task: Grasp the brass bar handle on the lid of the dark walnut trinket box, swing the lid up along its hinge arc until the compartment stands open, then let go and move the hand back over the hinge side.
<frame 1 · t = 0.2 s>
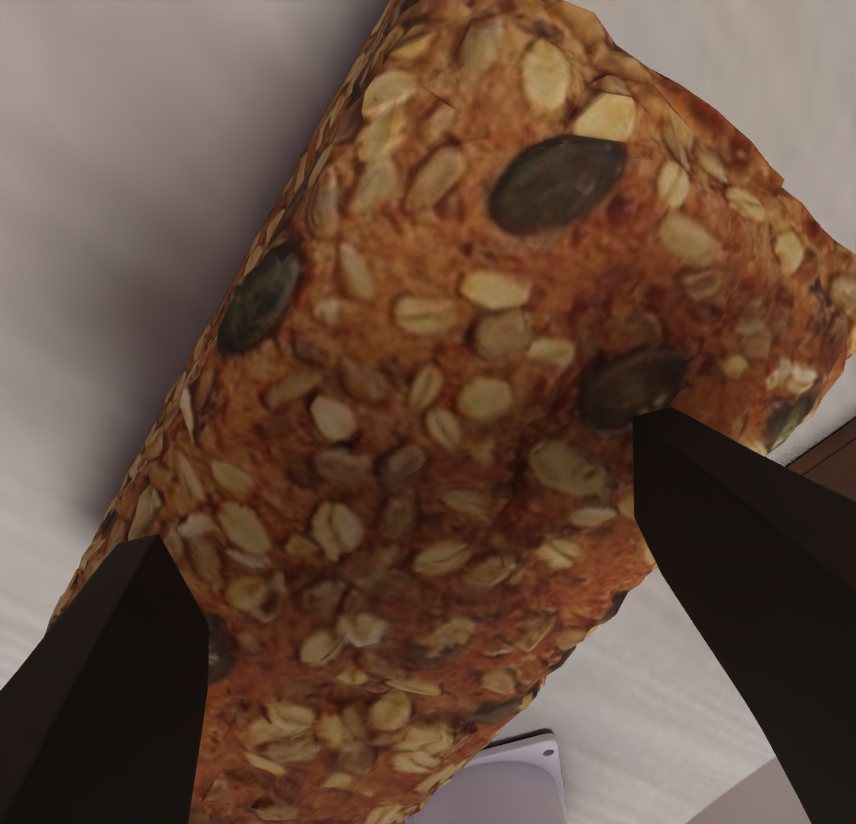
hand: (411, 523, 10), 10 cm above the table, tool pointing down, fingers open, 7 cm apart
bread: (371, 363, 20), on the table
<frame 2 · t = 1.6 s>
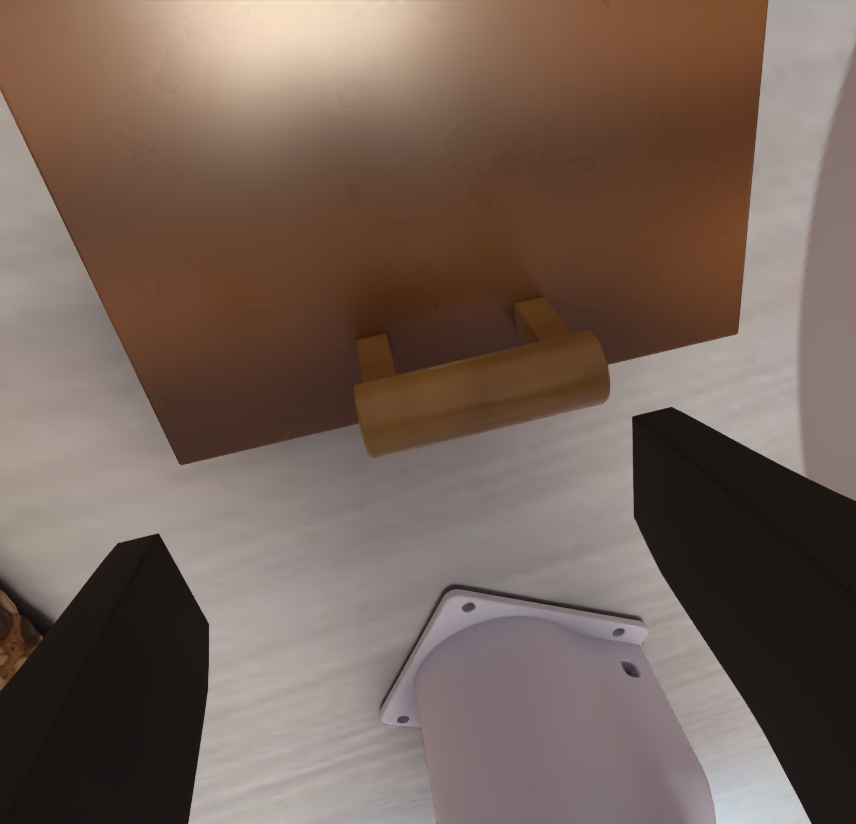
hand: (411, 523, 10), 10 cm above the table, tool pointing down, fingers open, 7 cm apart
box lid: (435, 174, 12), point 6 cm above the table, hinge at 0.0°
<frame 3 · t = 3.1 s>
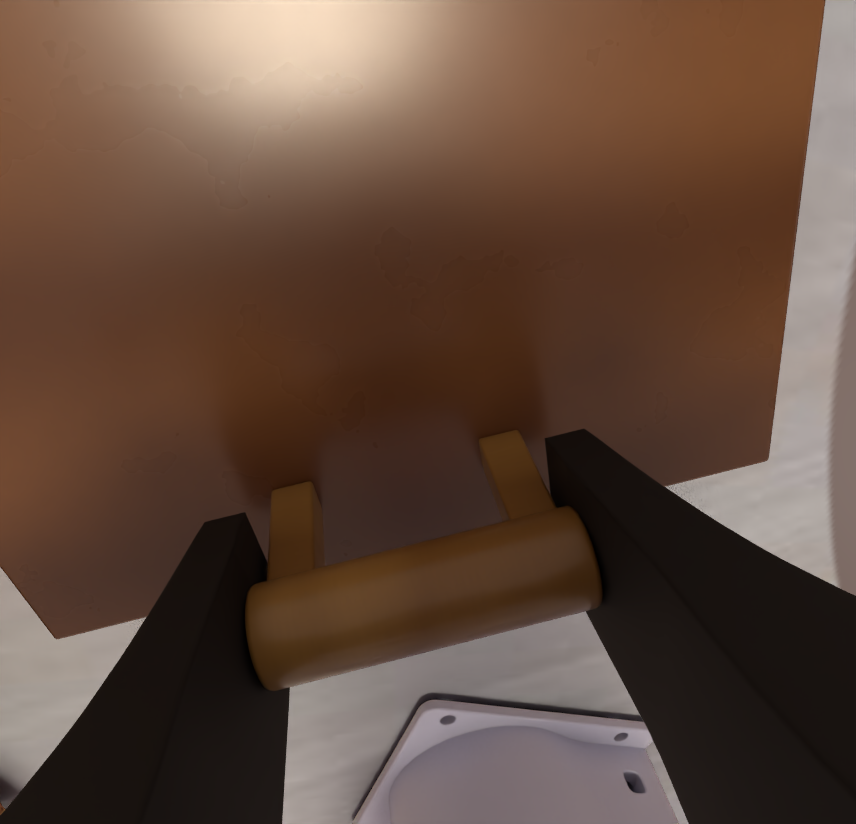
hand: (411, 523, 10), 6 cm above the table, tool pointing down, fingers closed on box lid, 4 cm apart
box lid: (351, 309, 8), point 6 cm above the table, hinge at 0.0°, touching gripper
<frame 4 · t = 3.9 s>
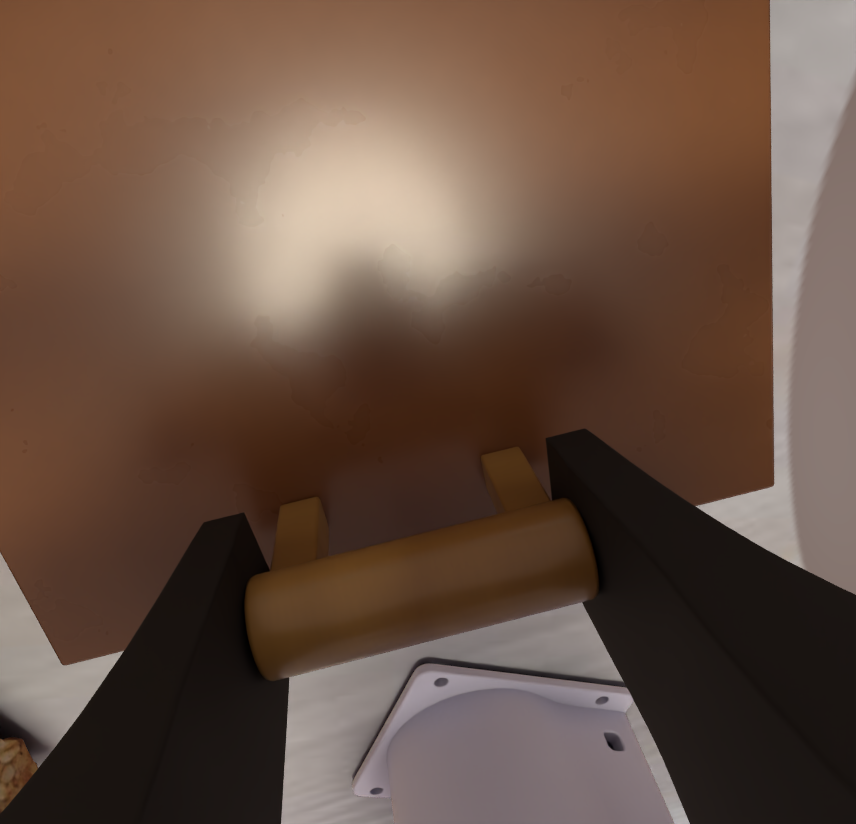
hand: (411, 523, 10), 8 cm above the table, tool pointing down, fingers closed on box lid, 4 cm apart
box lid: (352, 302, 9), point 7 cm above the table, hinge at 11.0°, touching gripper
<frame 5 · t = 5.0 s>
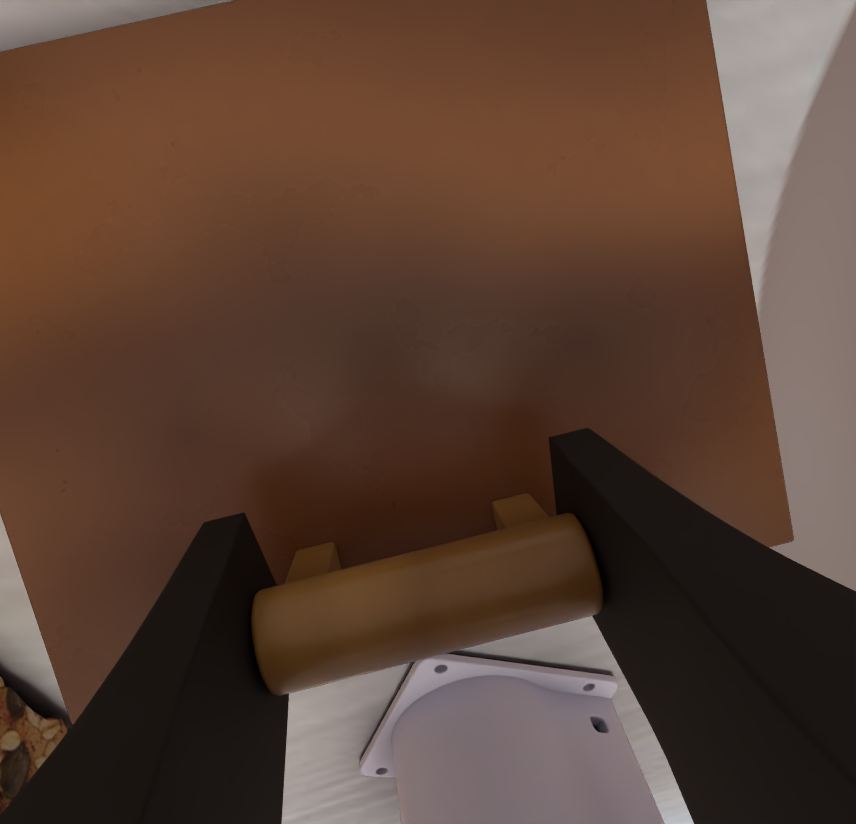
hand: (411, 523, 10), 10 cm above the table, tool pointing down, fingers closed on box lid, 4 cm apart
box lid: (364, 334, 10), point 9 cm above the table, hinge at 25.2°, touching gripper
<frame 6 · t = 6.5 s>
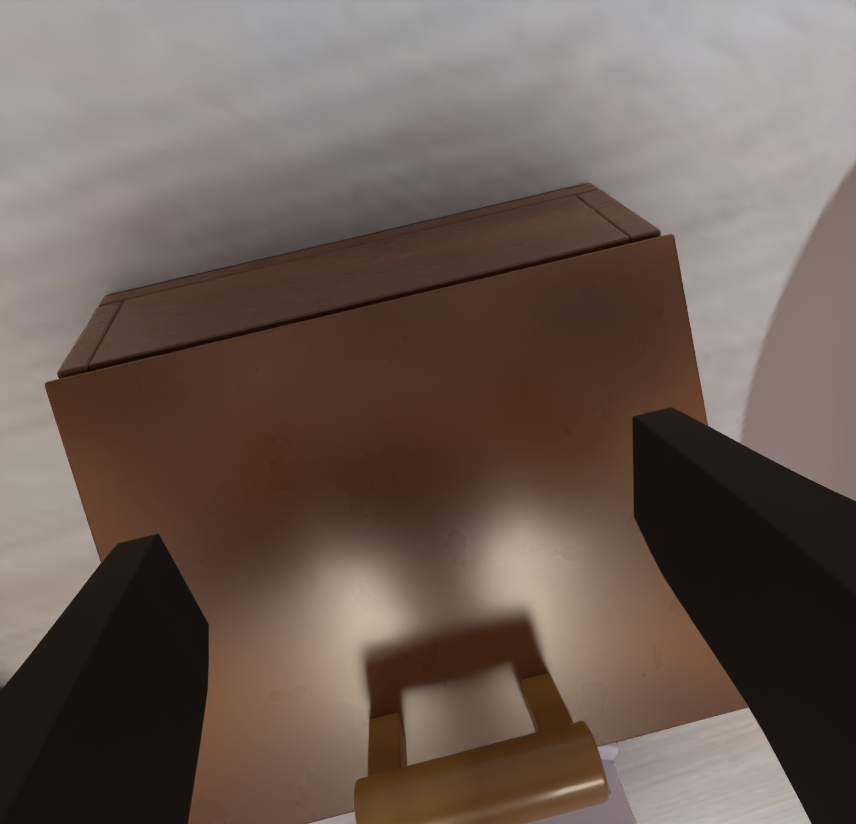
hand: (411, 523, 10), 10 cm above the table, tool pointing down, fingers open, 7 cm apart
box lid: (429, 579, 13), point 9 cm above the table, hinge at 25.3°
trinket box: (390, 398, 21), on the table
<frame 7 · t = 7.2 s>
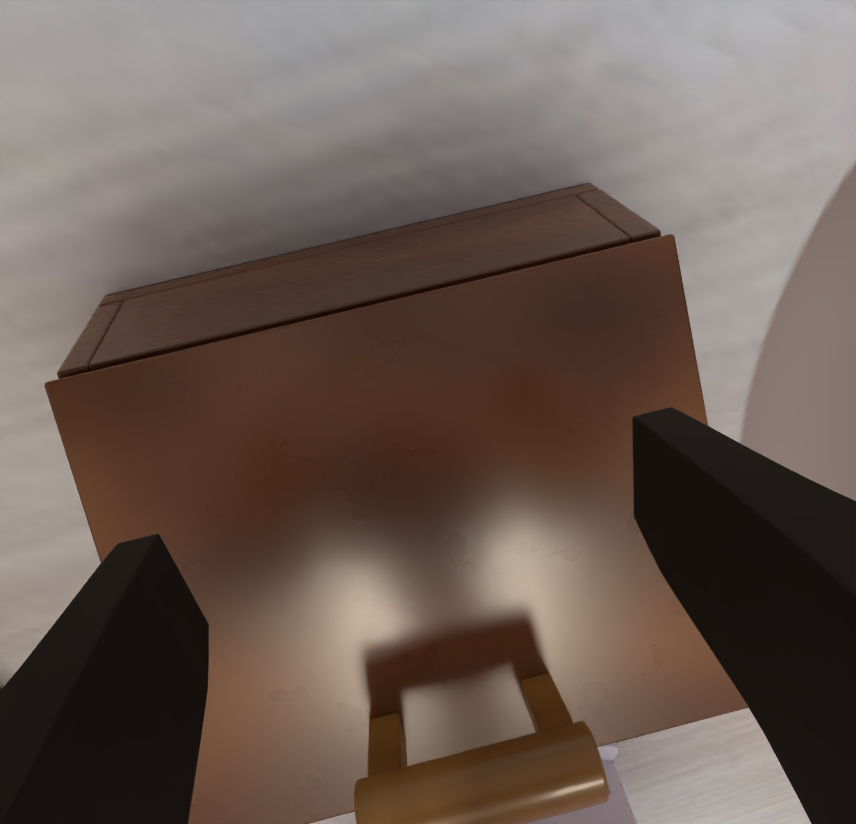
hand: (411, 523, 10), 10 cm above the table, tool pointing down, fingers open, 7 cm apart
box lid: (429, 579, 13), point 9 cm above the table, hinge at 25.3°
trinket box: (390, 398, 21), on the table
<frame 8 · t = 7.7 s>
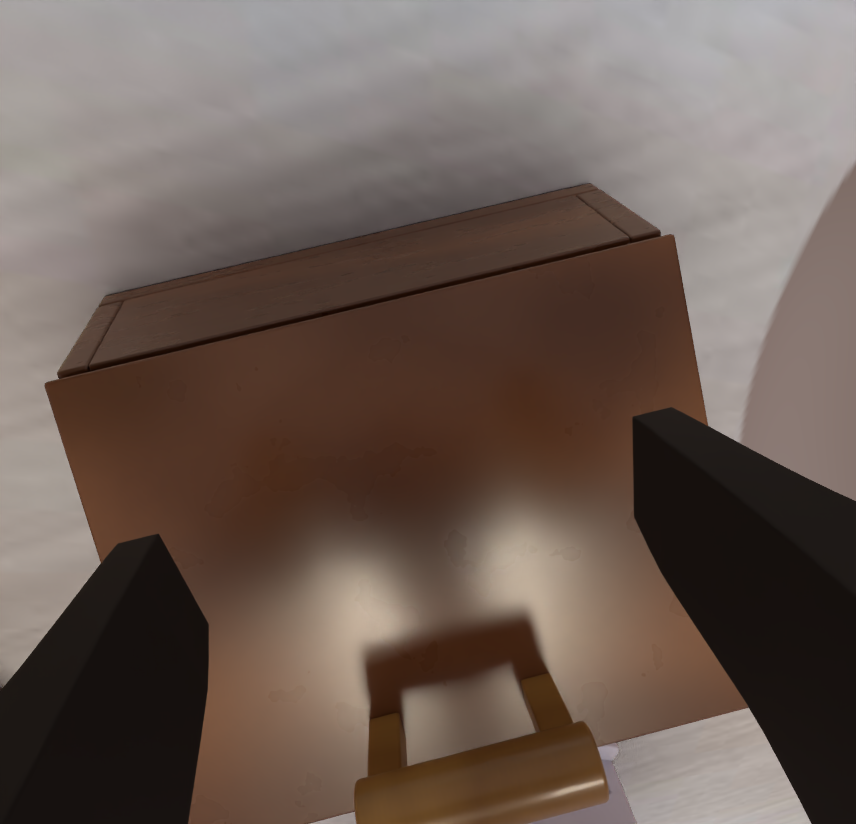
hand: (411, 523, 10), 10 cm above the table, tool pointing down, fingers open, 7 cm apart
box lid: (429, 579, 13), point 9 cm above the table, hinge at 25.3°
trinket box: (390, 398, 21), on the table
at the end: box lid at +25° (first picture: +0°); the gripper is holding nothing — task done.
